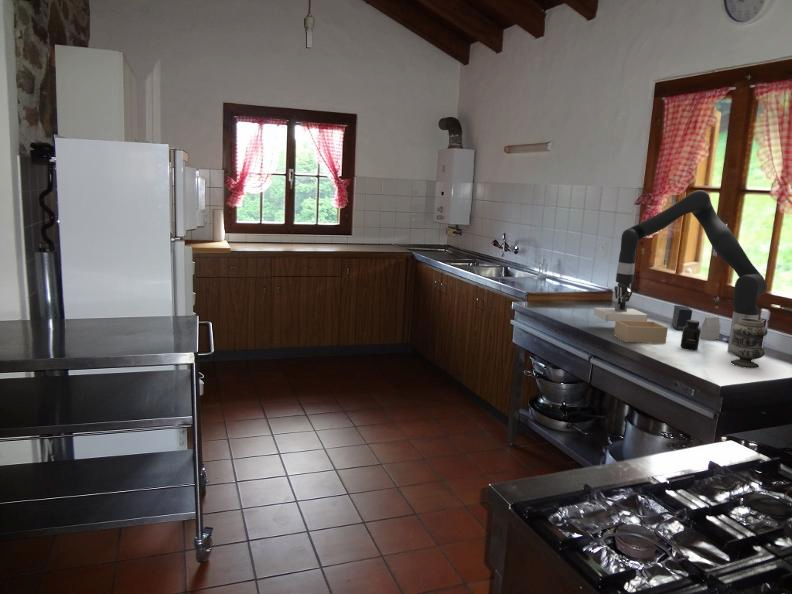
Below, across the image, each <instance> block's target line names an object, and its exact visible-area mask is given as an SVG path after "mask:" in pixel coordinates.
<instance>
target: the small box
mask: <svg viewBox="0 0 792 594" xmlns="http://www.w3.org/2000/svg"><path fill="white" fill-rule="evenodd" d="M672 313H673V315H672V320H671V324H670V325H671V327H672V328H673V329H674V330H675V331H683V328H684V327H685V326H687V325H686V323H687V320H692V315H693V309H691V308H689V307H688V306H685V305H684V306H683V305H677V304H675V305H674V307H673V312H672Z"/></svg>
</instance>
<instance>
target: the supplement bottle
mask: <svg viewBox="0 0 792 594" xmlns="http://www.w3.org/2000/svg"><path fill="white" fill-rule="evenodd" d="M686 325H687V326H685V327H684V328H683V330H682V333H681V334H682V335H681V340H680V348H681V349H683V350H687V351H697V350H698V349H699V345H700V339H701V338H700V335H701V328H700V321H698V320H695V319H691V320H687V323H686Z"/></svg>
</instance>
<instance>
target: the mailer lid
mask: <svg viewBox="0 0 792 594" xmlns="http://www.w3.org/2000/svg"><path fill="white" fill-rule="evenodd" d="M593 315H594V316H596V317H598V318H600V319H602V320H603V321H605V322H616V320H617V321H648V314H647V313H644V312H642V311H640V310H637V309H635V308H628V305H627V304H625V310H620V304H618V303H615V304H614V307H594V309H593Z"/></svg>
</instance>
